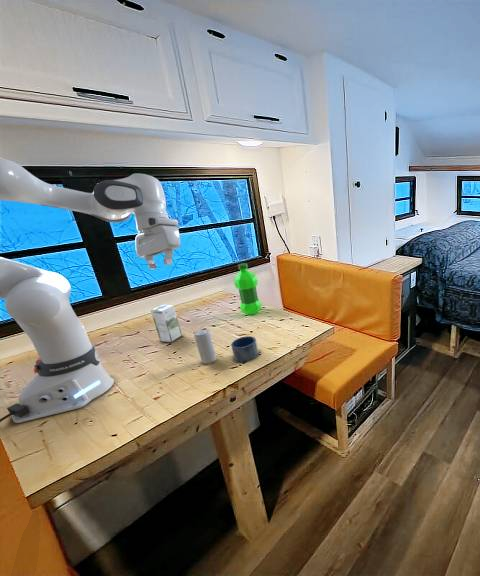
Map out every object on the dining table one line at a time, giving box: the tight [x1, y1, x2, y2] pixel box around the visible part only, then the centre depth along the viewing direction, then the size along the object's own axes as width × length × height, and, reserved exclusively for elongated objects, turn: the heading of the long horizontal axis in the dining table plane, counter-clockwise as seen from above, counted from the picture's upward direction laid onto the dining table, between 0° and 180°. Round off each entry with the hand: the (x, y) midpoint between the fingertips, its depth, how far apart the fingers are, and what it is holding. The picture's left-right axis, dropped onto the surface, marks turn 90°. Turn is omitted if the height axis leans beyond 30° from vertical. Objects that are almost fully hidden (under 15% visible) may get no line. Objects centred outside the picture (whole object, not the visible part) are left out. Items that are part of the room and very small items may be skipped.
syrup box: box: [150, 304, 183, 343], centre depth 127 cm, size 6×6×14 cm
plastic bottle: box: [233, 262, 262, 316], centre depth 147 cm, size 10×10×25 cm
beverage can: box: [194, 328, 217, 365], centre depth 110 cm, size 5×5×12 cm
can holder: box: [230, 335, 259, 363], centre depth 114 cm, size 8×8×6 cm
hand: (160, 266), depth 100 cm, fingers open, 8 cm apart
